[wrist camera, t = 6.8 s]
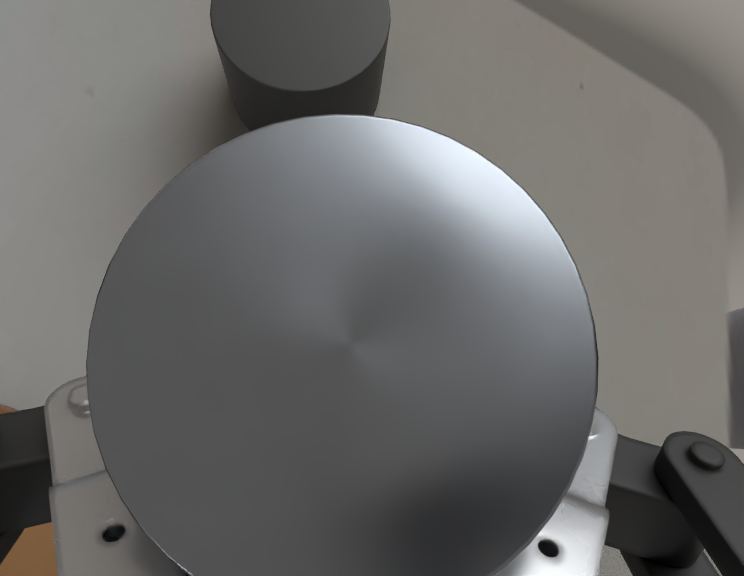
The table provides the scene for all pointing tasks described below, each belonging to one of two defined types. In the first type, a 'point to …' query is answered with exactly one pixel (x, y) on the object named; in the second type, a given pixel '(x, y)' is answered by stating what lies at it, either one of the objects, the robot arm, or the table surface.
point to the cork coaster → (31, 547)
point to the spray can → (342, 358)
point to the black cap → (301, 56)
